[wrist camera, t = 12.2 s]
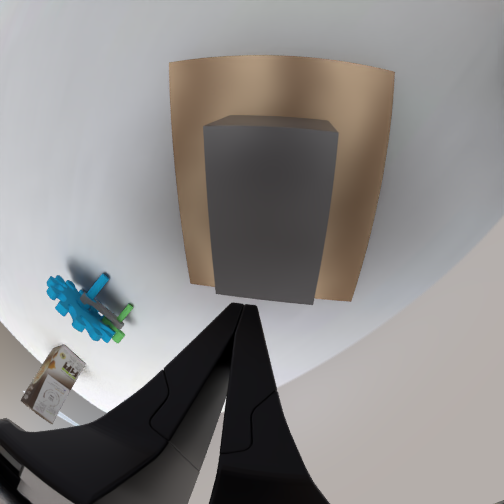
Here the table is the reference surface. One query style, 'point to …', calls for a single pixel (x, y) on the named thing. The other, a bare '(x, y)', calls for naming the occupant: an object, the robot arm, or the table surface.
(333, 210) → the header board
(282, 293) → the block
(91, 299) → the gear
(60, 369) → the coffee box
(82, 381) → the table surface
